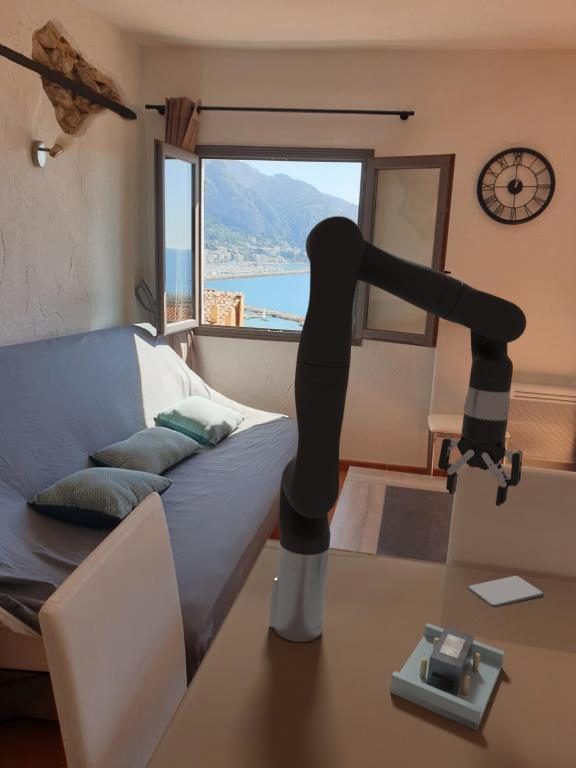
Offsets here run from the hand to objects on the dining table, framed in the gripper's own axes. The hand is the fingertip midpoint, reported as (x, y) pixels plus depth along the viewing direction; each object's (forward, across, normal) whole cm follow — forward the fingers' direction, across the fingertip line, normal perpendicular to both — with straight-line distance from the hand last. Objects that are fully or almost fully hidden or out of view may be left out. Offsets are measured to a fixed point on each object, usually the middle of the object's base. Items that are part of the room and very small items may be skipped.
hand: (474, 498), depth 108 cm
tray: (+27, -3, +14) cm, 31 cm away
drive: (+26, -3, +14) cm, 30 cm away
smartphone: (+28, -4, -23) cm, 36 cm away
